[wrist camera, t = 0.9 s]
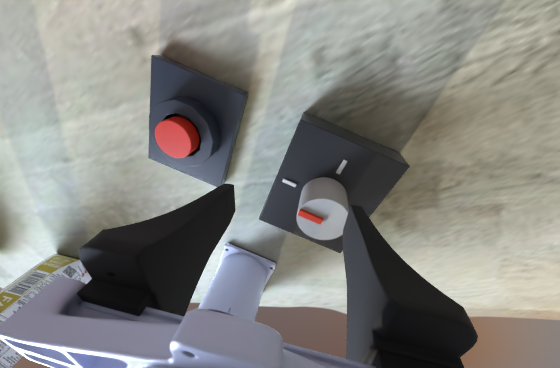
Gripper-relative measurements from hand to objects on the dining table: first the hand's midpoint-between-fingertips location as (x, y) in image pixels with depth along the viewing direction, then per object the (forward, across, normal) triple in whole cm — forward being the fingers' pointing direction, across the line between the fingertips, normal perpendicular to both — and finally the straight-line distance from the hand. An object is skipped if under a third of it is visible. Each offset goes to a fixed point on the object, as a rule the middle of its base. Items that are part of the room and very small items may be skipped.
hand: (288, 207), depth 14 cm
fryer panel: (+10, -2, +4) cm, 11 cm away
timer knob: (+7, -3, +4) cm, 9 cm away
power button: (+8, +12, 0) cm, 14 cm away
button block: (+10, +12, 0) cm, 16 cm away
